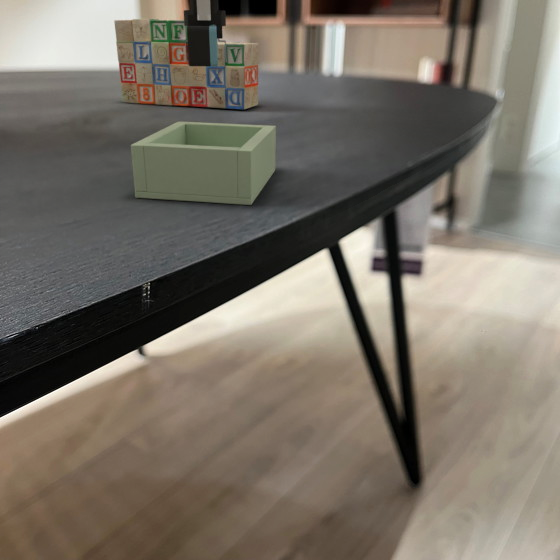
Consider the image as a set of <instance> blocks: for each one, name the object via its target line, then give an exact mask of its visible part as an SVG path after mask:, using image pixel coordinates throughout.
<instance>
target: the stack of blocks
mask: <svg viewBox="0 0 560 560" xmlns="http://www.w3.org/2000/svg"><path fill="white" fill-rule="evenodd" d="M113 21H114V31H115V39H116V42H115V43H116V51H117V53H116V55H117V61H118V69H119V79H120V89H121V90H120V91H121V99H122V103H128V104H142V105H160V106H180V107H196V108H210V109H211V108H213V109H226V110H227V109H230V110H246V109H249V108H253V107H256V106H258V105H259V42H240V41H239V42H238V41H237V42H235V41H226V59H227V62H226V59H225V42H218V66H189V58H188V62H187V61H186V43H185V41H187V26H184V19H159V18H132V19H114V20H113ZM187 45H188V42H187Z"/></svg>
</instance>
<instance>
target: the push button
mask: <svg viewBox="0 0 560 560" xmlns="http://www.w3.org/2000/svg"><path fill="white" fill-rule="evenodd" d="M226 12H227V11H226V10H224V9H223V10H221V9H220V10H219V0H189V9H184V10H183V20H184V26H187V41H185V43H186V61H187V62H188V58H189V66H218V42H225V59H226V42H227V40H223V39H224V38H223V27H227V17H226ZM221 39H222V40H221ZM187 42H188V45H187ZM226 62H227V59H226Z"/></svg>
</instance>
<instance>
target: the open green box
mask: <svg viewBox="0 0 560 560" xmlns="http://www.w3.org/2000/svg"><path fill="white" fill-rule="evenodd" d="M276 143H277V126H276V125H264V124H244V123H243V124H242V123H241V124H240V123H223V122H222V123H221V122H219V123H218V122H197V121H195V122H194V121H177V122H175V123H173V124H170V125H168V126H166V127H164V128H162V129H160V130H157V131H156V132H154V133H152V134H150V135H148V136H146V137H144V138H142V139H140V140H138V141H136V142H134V143H132V144H130V151H131V161H132V162H131V163H132V174H133V185H134V197H135V198H137V199H152V200H165V201H168V200H169V201H182V202H183V201H184V202H197V203H214V204H229V205H242V206H243V205H245V206H252V204H253V203H254V201H255V200H256V199H257V198H258V196H259V195H260V193H261V191H262V190H263V189H264V187H265V186H266V184H267V183H268V182H269V180H270V178H271V177H272V176H273V175H274V173H275V171H276V153H277V152H276V151H277V149H276V148H277V147H276V146H277V145H276Z"/></svg>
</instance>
